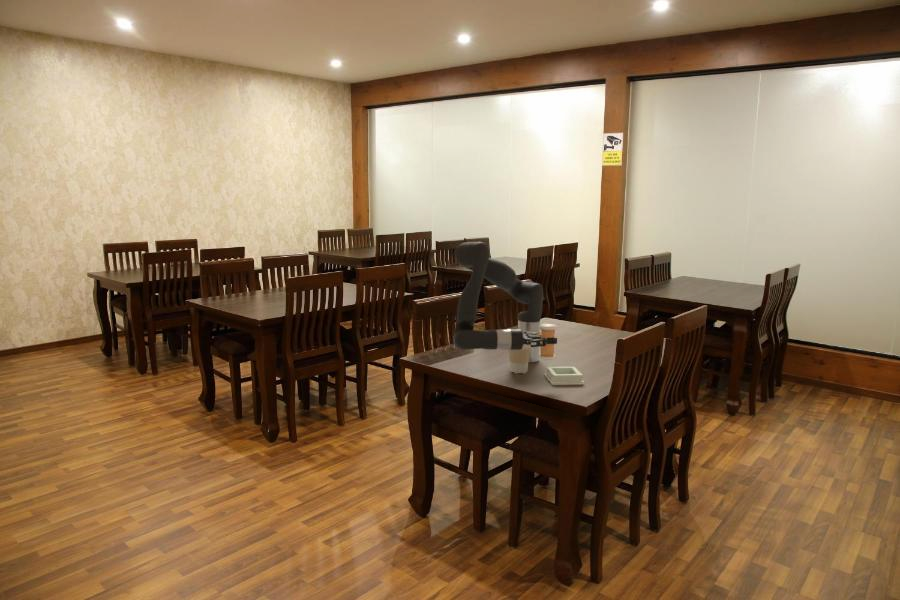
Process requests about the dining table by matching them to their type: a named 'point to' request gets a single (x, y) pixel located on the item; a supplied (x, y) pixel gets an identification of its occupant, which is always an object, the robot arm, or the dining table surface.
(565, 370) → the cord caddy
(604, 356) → the dining table surface
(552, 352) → the cord spool
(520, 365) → the coffee cup
